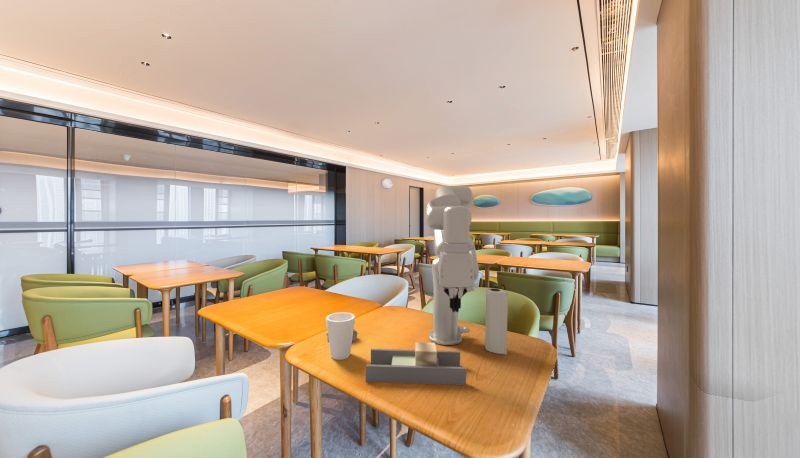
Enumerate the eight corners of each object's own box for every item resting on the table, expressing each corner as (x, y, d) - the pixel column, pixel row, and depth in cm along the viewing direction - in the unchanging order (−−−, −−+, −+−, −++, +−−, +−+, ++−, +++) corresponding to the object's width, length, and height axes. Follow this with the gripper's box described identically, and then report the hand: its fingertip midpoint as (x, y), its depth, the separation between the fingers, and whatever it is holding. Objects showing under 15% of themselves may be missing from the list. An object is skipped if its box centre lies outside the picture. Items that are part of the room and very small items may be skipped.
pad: (415, 365, 92) (415, 355, 92) (415, 381, 83) (415, 370, 83) (392, 364, 92) (392, 355, 92) (390, 380, 83) (390, 370, 83)
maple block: (434, 358, 90) (434, 342, 90) (436, 368, 84) (436, 351, 84) (415, 358, 90) (415, 342, 90) (415, 368, 84) (415, 351, 84)
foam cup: (340, 364, 92) (340, 323, 91) (320, 357, 97) (320, 318, 96) (360, 353, 100) (360, 315, 99) (340, 346, 105) (340, 310, 104)
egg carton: (332, 348, 104) (332, 336, 104) (325, 340, 110) (325, 330, 110) (359, 341, 110) (359, 330, 110) (351, 334, 116) (351, 324, 116)
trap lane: (459, 364, 92) (459, 350, 92) (465, 384, 81) (466, 368, 81) (371, 362, 93) (371, 348, 93) (365, 381, 82) (365, 366, 82)
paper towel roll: (483, 345, 106) (484, 287, 106) (499, 346, 106) (501, 287, 105) (488, 354, 99) (489, 292, 98) (506, 355, 99) (507, 292, 98)
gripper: (478, 247, 89) (477, 307, 90) (429, 247, 89) (428, 306, 90) (485, 250, 81) (483, 315, 82) (431, 249, 82) (430, 314, 83)
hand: (455, 310), depth 86 cm, fingers closed
